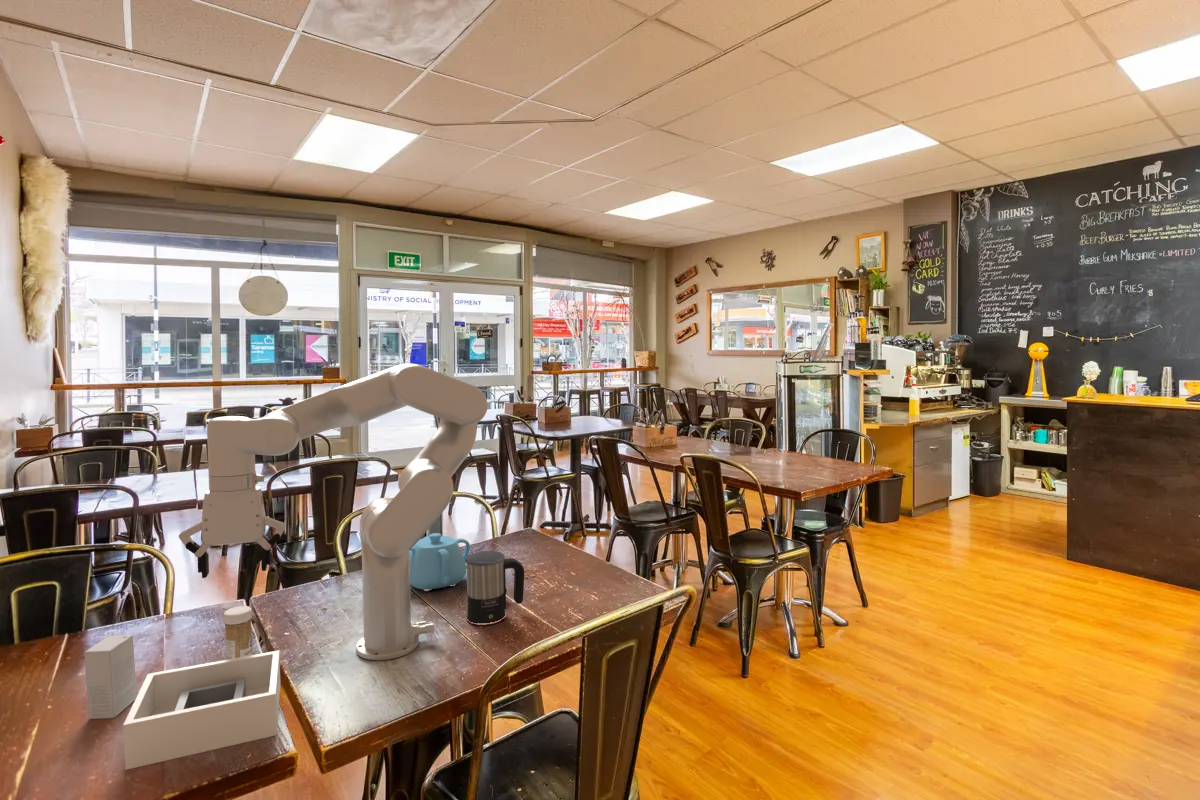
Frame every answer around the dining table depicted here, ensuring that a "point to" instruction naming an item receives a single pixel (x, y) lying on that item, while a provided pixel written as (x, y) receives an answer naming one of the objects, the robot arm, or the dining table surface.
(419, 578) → the decorative pot
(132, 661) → the skincare box
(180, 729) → the divided box
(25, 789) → the dining table surface
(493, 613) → the milk frother
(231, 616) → the sprinkles bottle
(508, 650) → the dining table surface
